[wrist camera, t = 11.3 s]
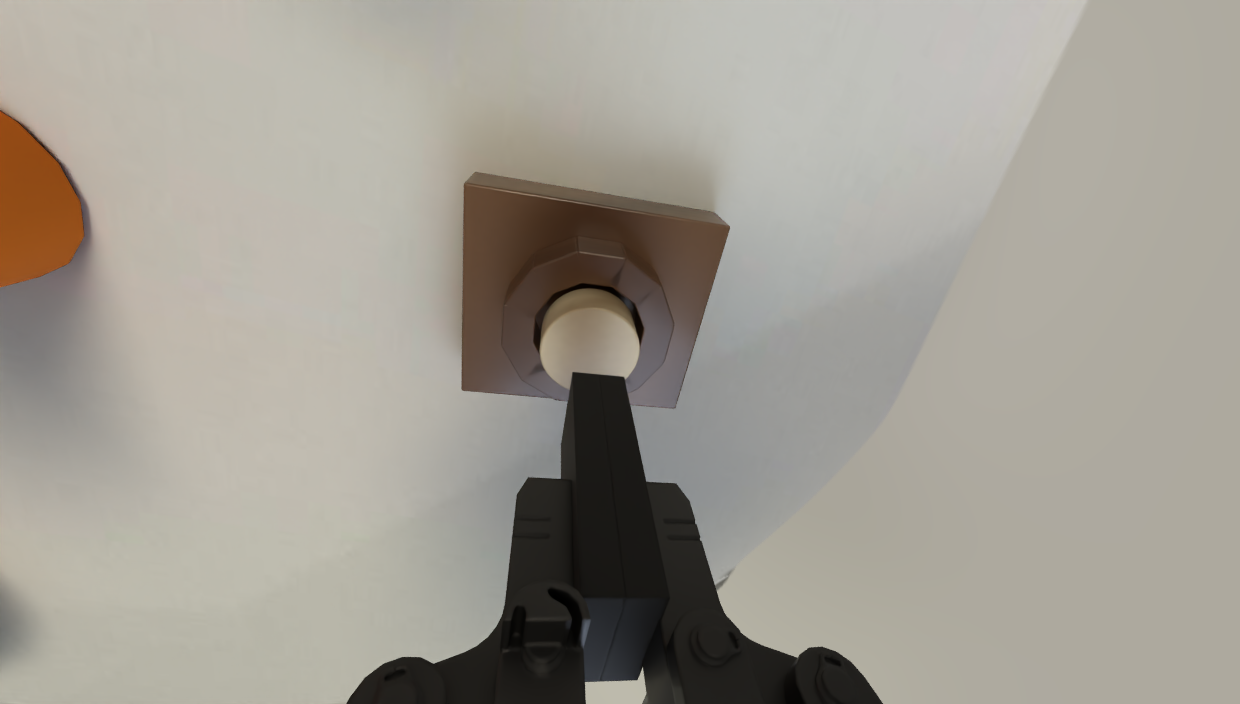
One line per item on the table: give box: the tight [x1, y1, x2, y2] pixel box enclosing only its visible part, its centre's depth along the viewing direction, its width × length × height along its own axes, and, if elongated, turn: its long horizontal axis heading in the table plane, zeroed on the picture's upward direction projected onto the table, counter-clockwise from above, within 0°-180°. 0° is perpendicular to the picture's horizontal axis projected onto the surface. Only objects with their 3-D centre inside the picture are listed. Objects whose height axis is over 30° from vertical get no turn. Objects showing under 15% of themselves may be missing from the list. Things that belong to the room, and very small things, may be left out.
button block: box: [461, 172, 730, 408], centre depth 19 cm, size 10×9×4 cm
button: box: [540, 288, 640, 390], centre depth 17 cm, size 4×4×2 cm
